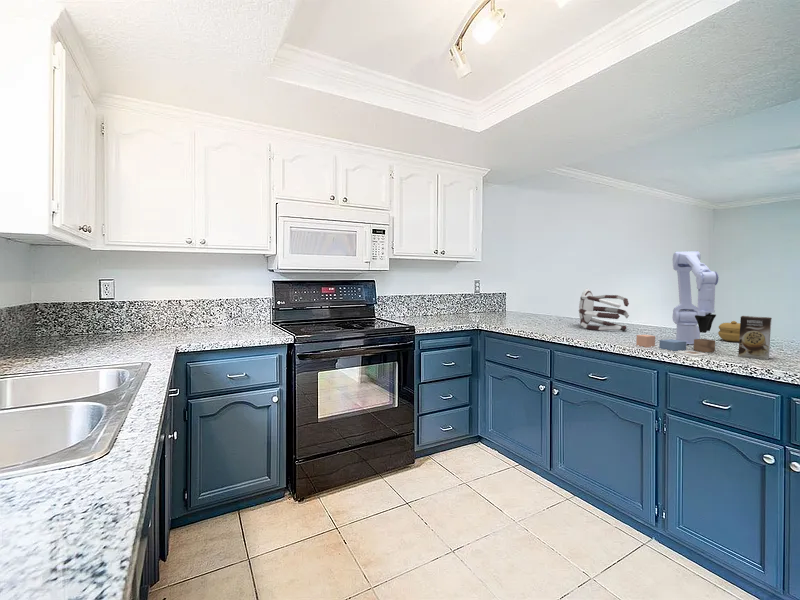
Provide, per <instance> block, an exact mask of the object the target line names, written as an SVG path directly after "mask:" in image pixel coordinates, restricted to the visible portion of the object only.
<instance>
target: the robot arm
mask: <svg viewBox="0 0 800 600" xmlns="http://www.w3.org/2000/svg"><path fill="white" fill-rule="evenodd" d="M671 261H672V269H673V270H674V271H676V274H677V284H678V285H677V286H678V297H679V298H678V299H679V304H678V305H676V306H675V307H673V310H672V321H673V324H675V325H676V332H675V335H676V337H675V340H679V341H686V345H687V344H689V345H694V339H701V338H700V337H701V333H703V334H706V333H707V332H710V331H711V328H712V324H713V323H714V320H715V318H716V317H717V314H715V313H716V310H715V303H716V301H715V298H716V286H717V285H718V283H719V280H720V279H719V273H718V272H717V271H716V270H715V271H712V270H711V269H710V268H709V266H707V264H705V262H701V252H700V251H699V250H693V251H691V250H690V251H688V250H687V251H675V252H674V253H673V255H672V260H671ZM690 272H692V274H693V275H694V276H695V283H696V290H697V306H696V305H694V304H693V301H692V289H691V287H692V285H691V273H690Z"/></svg>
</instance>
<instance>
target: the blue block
mask: <svg viewBox="0 0 800 600" xmlns="http://www.w3.org/2000/svg"><path fill="white" fill-rule="evenodd" d="M658 343H659V349H660V348H661V349H660V350H665V349H667V350H666V351H671V350H672V351H671V352H677V351H678V350H682V351H687V344H686V341H679V340H676V339H671V338H670V339H659V342H658Z"/></svg>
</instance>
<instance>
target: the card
mask: <svg viewBox="0 0 800 600" xmlns="http://www.w3.org/2000/svg"><path fill="white" fill-rule="evenodd" d="M675 353H676V354H682V355H686V356H693V357H698V356H700V355H701V356H709V355H708V354H709V353H704V352H699V351H694V350H682V351H675ZM701 356H700V357H701Z"/></svg>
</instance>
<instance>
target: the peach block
mask: <svg viewBox="0 0 800 600" xmlns="http://www.w3.org/2000/svg"><path fill="white" fill-rule="evenodd" d="M635 342H636V344H635V345H639V346H638V347H641V346H644V347H643V348H652V347H651V346H655V347H656V335H652V334H637V335H636V341H635Z"/></svg>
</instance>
